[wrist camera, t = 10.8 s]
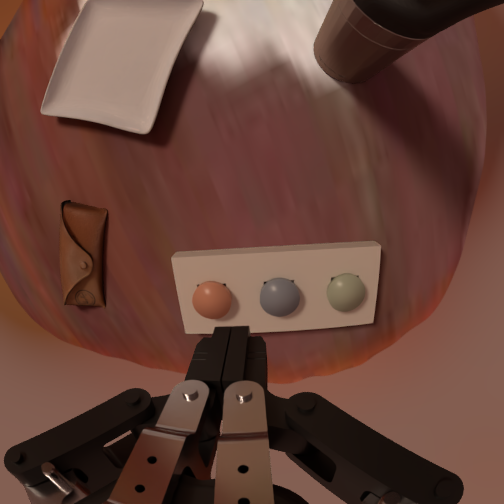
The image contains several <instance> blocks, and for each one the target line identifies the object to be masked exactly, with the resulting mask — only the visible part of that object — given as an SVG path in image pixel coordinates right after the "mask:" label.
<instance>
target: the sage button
mask: <svg viewBox="0 0 504 504" xmlns="http://www.w3.org/2000/svg"><path fill="white" fill-rule="evenodd" d="M364 297H365V286H364V284H363V283H362V281H361V280H360V279H359V277H357V276H356V275H354V274H351V273H344V274H340V275H338V276H336V277H333V278H332V280H331V282H330V283H329V285H328V288H327V298H328V300H329V303H330V305H331V306H332V307H333V308H334V309H335V310H337V311H341V312H347V311H351V310H353V309H355V308H357V307H358V306H359V305H360V304H361V303H362V301H363V299H364Z"/></svg>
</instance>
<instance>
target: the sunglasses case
mask: <svg viewBox="0 0 504 504" xmlns="http://www.w3.org/2000/svg"><path fill="white" fill-rule="evenodd" d="M60 211H61V214H60V232H59V251H60V272H61V283H62V291H63V299H64V305H80V306H100V307H103V308H105V307H106V304H105V298H104V290H103V246H104V232H105V224H106V220H107V214H108V211H107V210H106V209H105V208H103V209H102V208H97V207H92V206H88V205H84V204H80V203H76V202H71V200H66V201H63V202H62V203H61V207H60Z"/></svg>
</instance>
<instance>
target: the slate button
mask: <svg viewBox="0 0 504 504" xmlns="http://www.w3.org/2000/svg"><path fill="white" fill-rule="evenodd" d="M299 302H300V295H299V291H298V288H297V286H296V285H295V284H294V283H293V282H292V281H291V280H289V279H286V278H274V279H271V280H269V281H268V282H266V283H265V284H264V285H263V287H262V289H261V291H260V304H261V307H262V308H263V310H264V311H265V312H266V313H268V314H270V315H272V316H276V317H282V316H287V315H289V314H291V313H292V312H294V311H295V310H296V308H297V307H298V305H299Z"/></svg>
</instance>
